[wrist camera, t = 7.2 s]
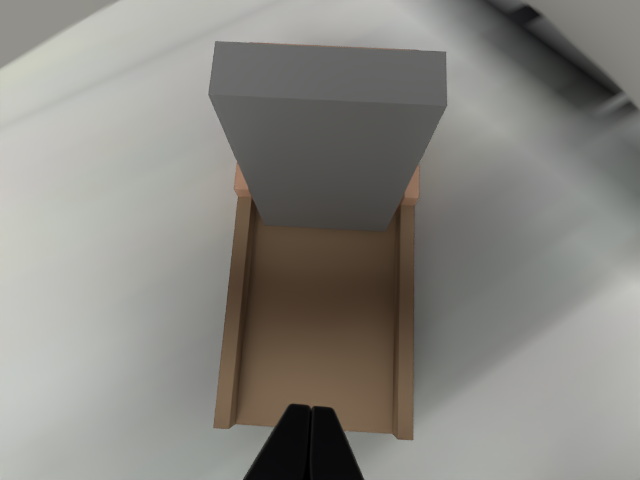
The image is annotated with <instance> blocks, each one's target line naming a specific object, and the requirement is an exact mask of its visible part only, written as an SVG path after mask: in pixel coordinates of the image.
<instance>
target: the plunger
mask: <svg viewBox="0 0 640 480" xmlns="http://www.w3.org/2000/svg"><path fill="white" fill-rule="evenodd" d="M208 95H209V97H210V99H211V102H212V104H213V106H214V109H215V111H216V113H217V116H218V118H219V120H220V123H221V125H222V127H223V130H224V132H225V135H226V137H227V139H228V142H229V144H230V146H231V149H232V151H233V153H234V156H235V158H236V160H237V163H238V165H239V167H240V170H241V172H242V174H243V177H244V179H245V181H246V184H247V186H248V188H249V191H250V193H251V195H252V198H253V200H254V202H255V205H256V207H257V209H258V212H259V214H260V216H261V219H262V221H263V223H264V225H266V226H285V227H304V228H323V229H342V230H361V231H380V232H386V229H387V227H388V225H389V223H390V221H391V219H392V217H393V215H394V213H395V211H396V209H397V207H398V205H399V203H400V201H401V199H402V197H403V195H404V193H405V191H406V188H407V186H408V184H409V182H410V180H411V178H412V176H413V174H414V172H415V170H416V168H417V166H418V164H419V162H420V160H421V158H422V156H423V154H424V152H425V149H426V147H427V145H428V143H429V141H430V139H431V137H432V135H433V133H434V131H435V129H436V127H437V125H438V123H439V121H440V119H441V117H442V115H443V113H444V111H445V108H446V106H447V86H446V52H441V51H419V50H397V49H374V48H352V47H330V46H308V45H286V44H264V43H241V42H219V41H215V48H214V56H213V63H212V71H211V78H210V86H209V94H208Z"/></svg>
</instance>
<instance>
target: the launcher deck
mask: <svg viewBox="0 0 640 480" xmlns="http://www.w3.org/2000/svg"><path fill="white" fill-rule="evenodd" d="M414 209H415V206H411V205H401V206H400V208H399V210H398V212H397V214H396V215H393V217H392V219H391V221H390V223H389V225H388V227H387V229H386V232H380V231H361V230H342V229H323V228H304V227H285V226H266V225H264V223H263V221H262V219H261V216H260V214H259V212H258V209H257V208H256V207H255V204H254V202H253V200H252V197H238V201H237V211H236V220H235V230H234V239H233V248H232V258H231V267H230V277H229V286H228V295H227V305H226V314H225V324H224V333H223V342H222V352H221V361H220V371H219V380H218V389H217V399H216V408H215V418H214V427H213V428H221V429H229V428H231V427H232V426H233V425H235V424H242V425H258V426H276V424H277V423H278V421H279V419H280V418H281V416H282V414H283V413H284V411H285V409H286V408H287V406H288V405H289V404H292V403H294V404H304V405H309V406H310V408H312V407H313V406H324V407H331V408H333V409H334V410H335V412H336V414H337V417H338V419H339V421H340V424H341V426H342V428H343V431H357V432H373V433H390V434H393V435H394V436H395V437H396V438H397V439H401V440H413V393H414Z"/></svg>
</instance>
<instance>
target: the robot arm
mask: <svg viewBox="0 0 640 480" xmlns="http://www.w3.org/2000/svg"><path fill="white" fill-rule="evenodd" d="M243 480H364V478H363V475H362V473H361V471H360V468H359V466H358V464H357V461H356V459H355V457H354V454H353V452H352V450H351V447H350V445H349V443H348V440H347V438H346V436H345V433H344V431H343V428H342V426H341V424H340V421H339V419H338V417H337V414H336V412H335V410H334V409H333V408H331V407H324V406H313V407H312V408H310V406H309V405H304V404H294V403H292V404H289V405H288V406H287V408H286V409H285V411H284V413H283V414H282V416H281V418H280V419H279V421H278V423H277V424H276V426H275V428H274V429H273V431H272V432H271V434H270V436H269V437H268V439H267V441H266V442H265V444H264V446H263V447H262V449H261V451H260V452H259V454H258V456H257V457H256V459H255V461H254V462H253V464H252V465H251V467H250V469H249V470H248V472H247V474H246V475H245V477H244V479H243Z"/></svg>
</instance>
